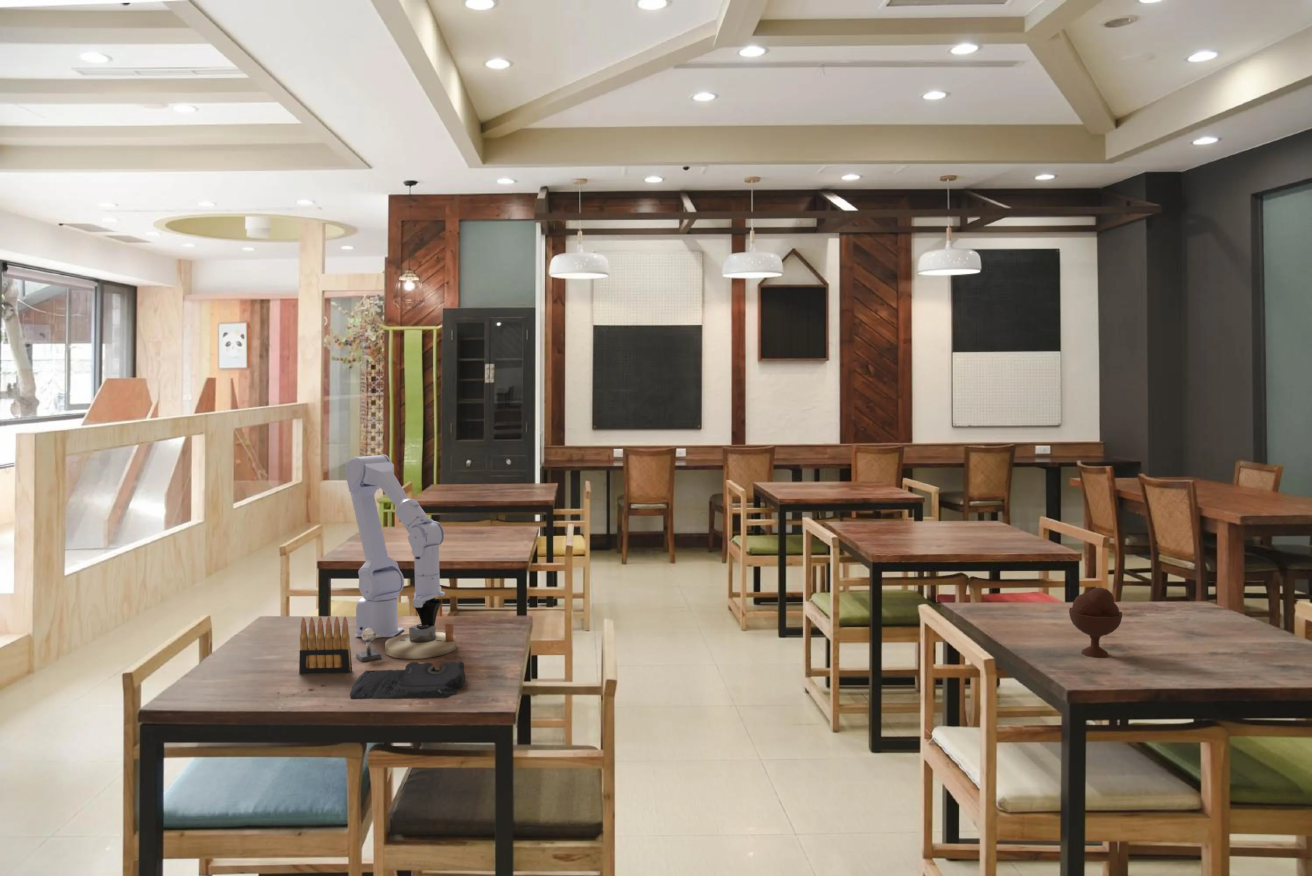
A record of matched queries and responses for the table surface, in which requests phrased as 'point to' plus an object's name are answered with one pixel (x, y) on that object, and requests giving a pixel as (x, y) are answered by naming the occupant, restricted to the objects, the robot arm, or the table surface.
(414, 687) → the black folded garment
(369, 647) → the grey and clear piece
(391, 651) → the turntable
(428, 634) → the iron cover
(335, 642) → the ammunition clip
